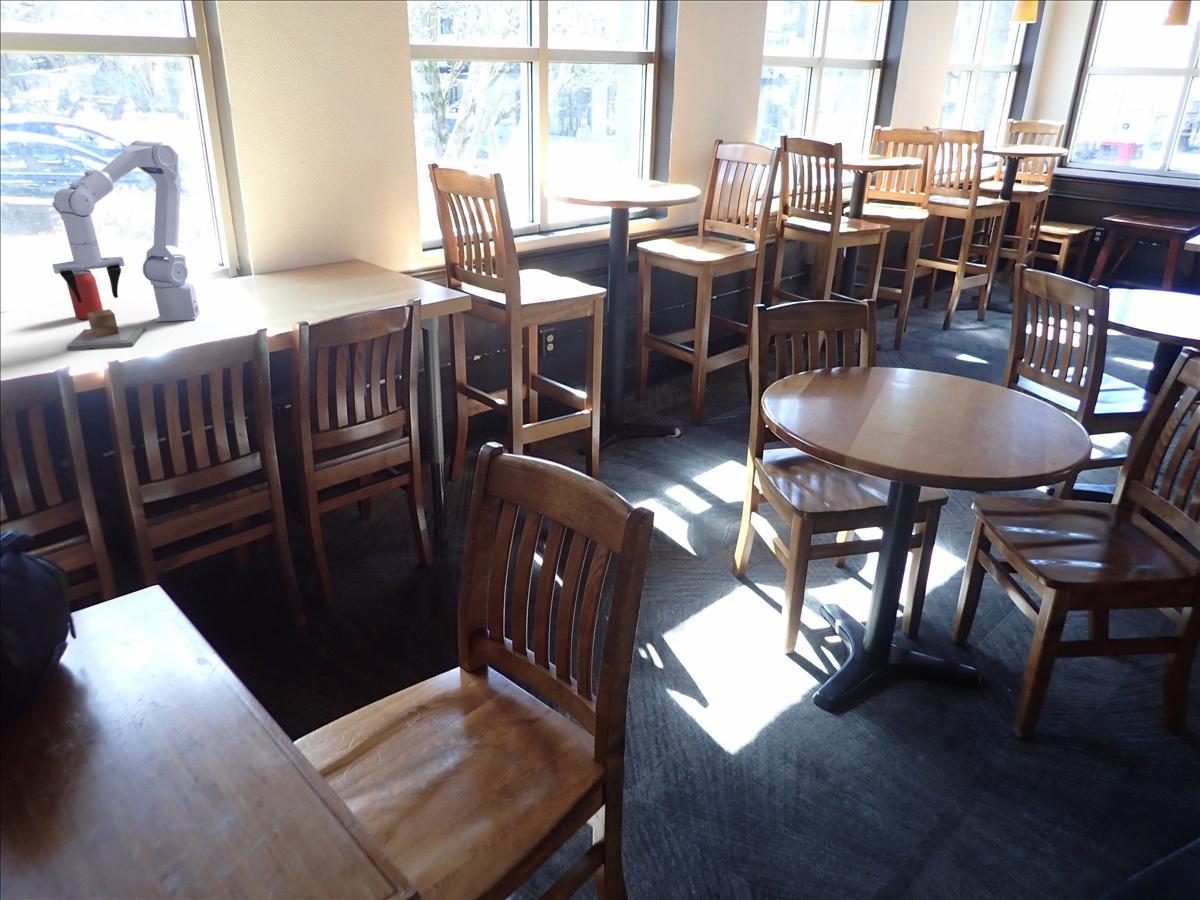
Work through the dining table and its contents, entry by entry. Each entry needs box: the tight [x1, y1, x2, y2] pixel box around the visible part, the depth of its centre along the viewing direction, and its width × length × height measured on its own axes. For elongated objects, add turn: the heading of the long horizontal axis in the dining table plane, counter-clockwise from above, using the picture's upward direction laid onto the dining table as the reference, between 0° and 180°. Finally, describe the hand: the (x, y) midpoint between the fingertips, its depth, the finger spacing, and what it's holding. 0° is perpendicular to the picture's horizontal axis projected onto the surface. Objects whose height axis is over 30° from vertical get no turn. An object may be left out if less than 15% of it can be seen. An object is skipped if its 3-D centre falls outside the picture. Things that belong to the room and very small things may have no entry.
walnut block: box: [87, 308, 119, 337], centre depth 205 cm, size 5×5×5 cm
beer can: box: [66, 269, 104, 321], centre depth 220 cm, size 7×7×12 cm
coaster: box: [66, 325, 147, 351], centre depth 204 cm, size 14×14×1 cm
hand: (97, 299), depth 201 cm, fingers open, 7 cm apart
